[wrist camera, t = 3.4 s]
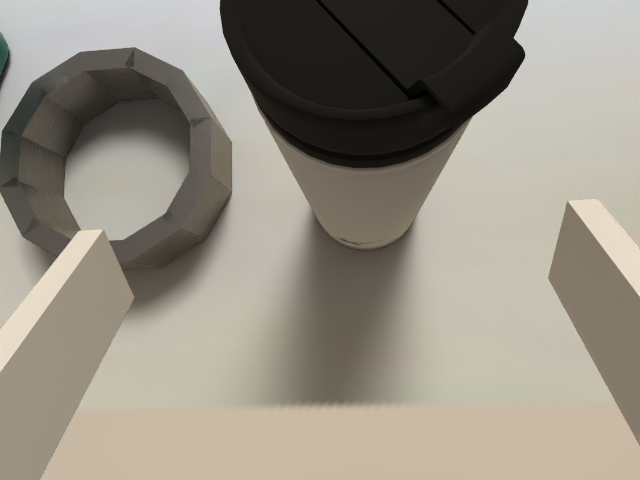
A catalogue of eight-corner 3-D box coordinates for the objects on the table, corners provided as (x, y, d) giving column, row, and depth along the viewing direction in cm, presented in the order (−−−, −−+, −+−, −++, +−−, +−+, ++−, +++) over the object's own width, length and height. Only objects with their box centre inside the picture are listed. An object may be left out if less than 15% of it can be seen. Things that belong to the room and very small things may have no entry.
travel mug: (362, 276, 28) (356, 203, 8) (294, 194, 29) (140, -50, 9) (443, 210, 28) (635, -25, 8) (372, 130, 29) (387, -248, 9)
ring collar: (266, 130, 30) (251, 103, 26) (169, 304, 29) (138, 304, 25) (108, 53, 31) (71, 17, 27) (12, 213, 30) (-40, 200, 26)
